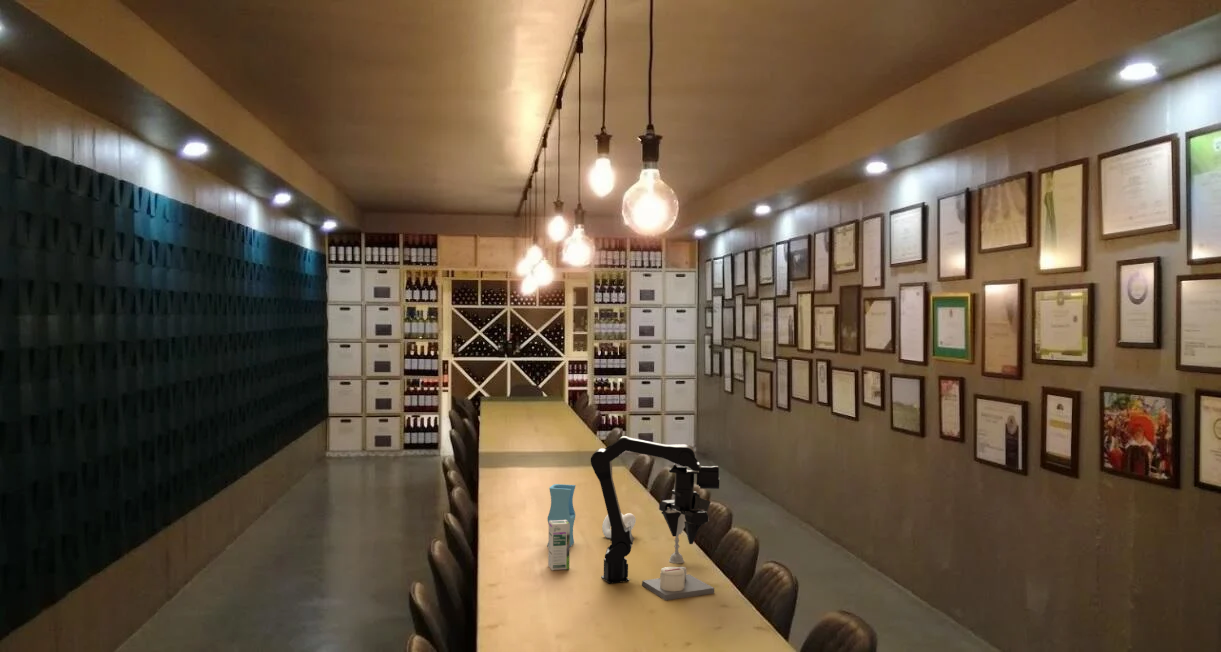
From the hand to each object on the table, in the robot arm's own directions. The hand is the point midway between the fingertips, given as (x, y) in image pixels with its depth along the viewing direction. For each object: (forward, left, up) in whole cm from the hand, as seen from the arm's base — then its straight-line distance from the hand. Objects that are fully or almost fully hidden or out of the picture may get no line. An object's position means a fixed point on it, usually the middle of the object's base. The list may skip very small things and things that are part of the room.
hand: (682, 540), depth 248 cm
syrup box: (-28, +28, -13) cm, 42 cm away
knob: (-7, -7, -11) cm, 15 cm away
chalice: (+10, +20, -13) cm, 26 cm away
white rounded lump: (+5, +54, -13) cm, 56 cm away
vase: (-17, +53, -13) cm, 57 cm away
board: (-4, -5, -13) cm, 14 cm away
